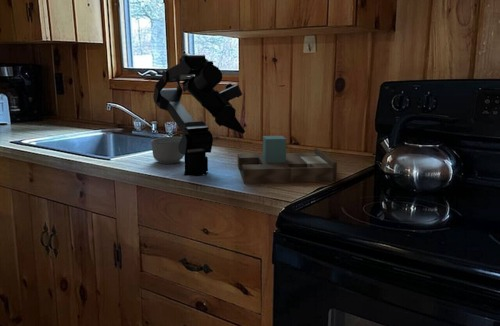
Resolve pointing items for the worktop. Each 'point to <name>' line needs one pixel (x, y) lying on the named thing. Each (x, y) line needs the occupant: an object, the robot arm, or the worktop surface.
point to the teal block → (274, 149)
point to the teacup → (166, 150)
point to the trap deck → (288, 168)
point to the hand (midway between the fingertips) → (244, 132)
